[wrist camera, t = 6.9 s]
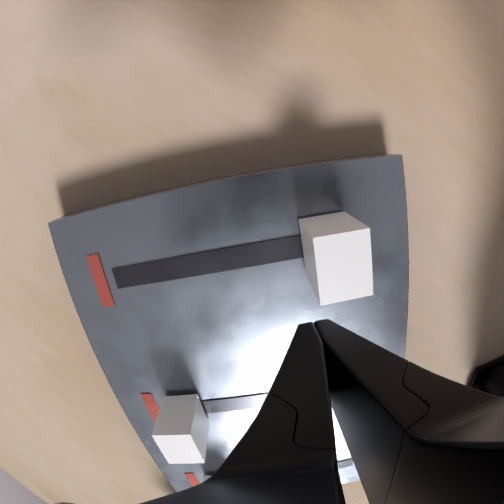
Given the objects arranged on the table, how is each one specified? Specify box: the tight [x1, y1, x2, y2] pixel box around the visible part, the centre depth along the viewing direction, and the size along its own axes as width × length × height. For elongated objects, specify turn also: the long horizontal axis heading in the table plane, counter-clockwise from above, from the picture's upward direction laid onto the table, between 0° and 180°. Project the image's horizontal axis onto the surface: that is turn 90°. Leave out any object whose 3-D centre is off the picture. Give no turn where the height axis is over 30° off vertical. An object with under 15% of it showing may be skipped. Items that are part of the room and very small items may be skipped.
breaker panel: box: [48, 154, 409, 492], centre depth 21 cm, size 20×28×2 cm
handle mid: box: [152, 394, 209, 464], centre depth 18 cm, size 2×3×4 cm
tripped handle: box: [299, 211, 373, 306], centre depth 15 cm, size 2×3×4 cm
